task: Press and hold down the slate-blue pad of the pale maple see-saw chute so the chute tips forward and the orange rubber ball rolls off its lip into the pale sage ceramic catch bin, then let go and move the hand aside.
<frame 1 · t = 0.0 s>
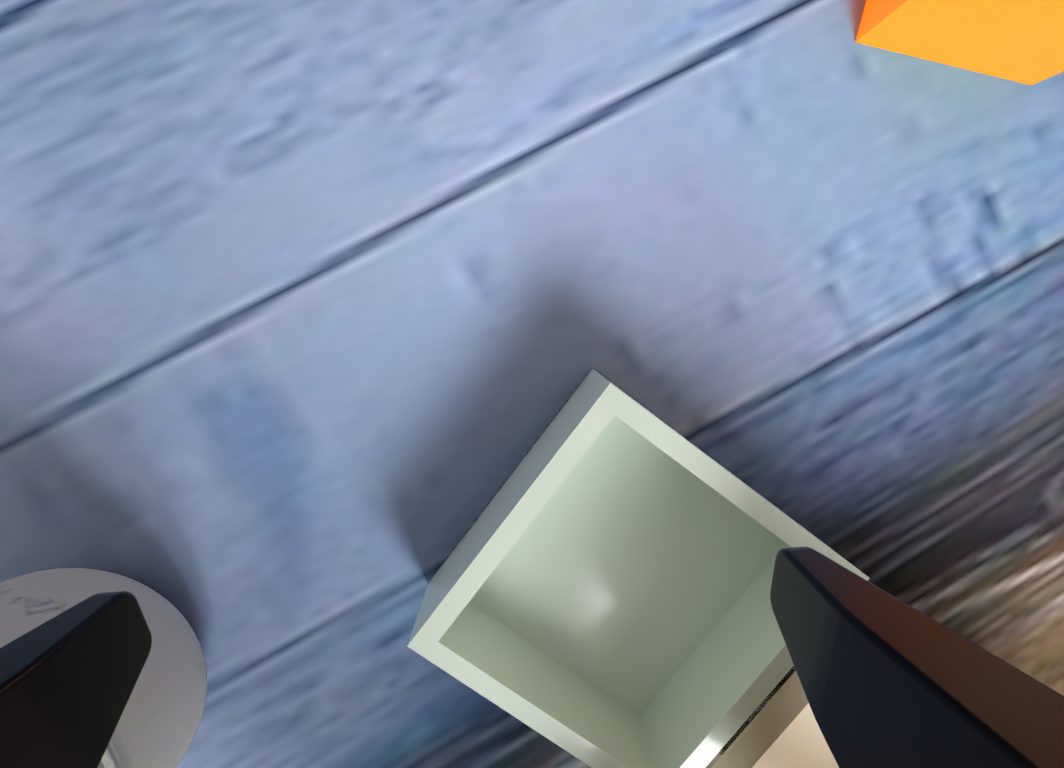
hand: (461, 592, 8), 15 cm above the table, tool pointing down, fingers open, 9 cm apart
catch bin: (616, 555, 24), on the table
teacup: (93, 659, 24), on the table
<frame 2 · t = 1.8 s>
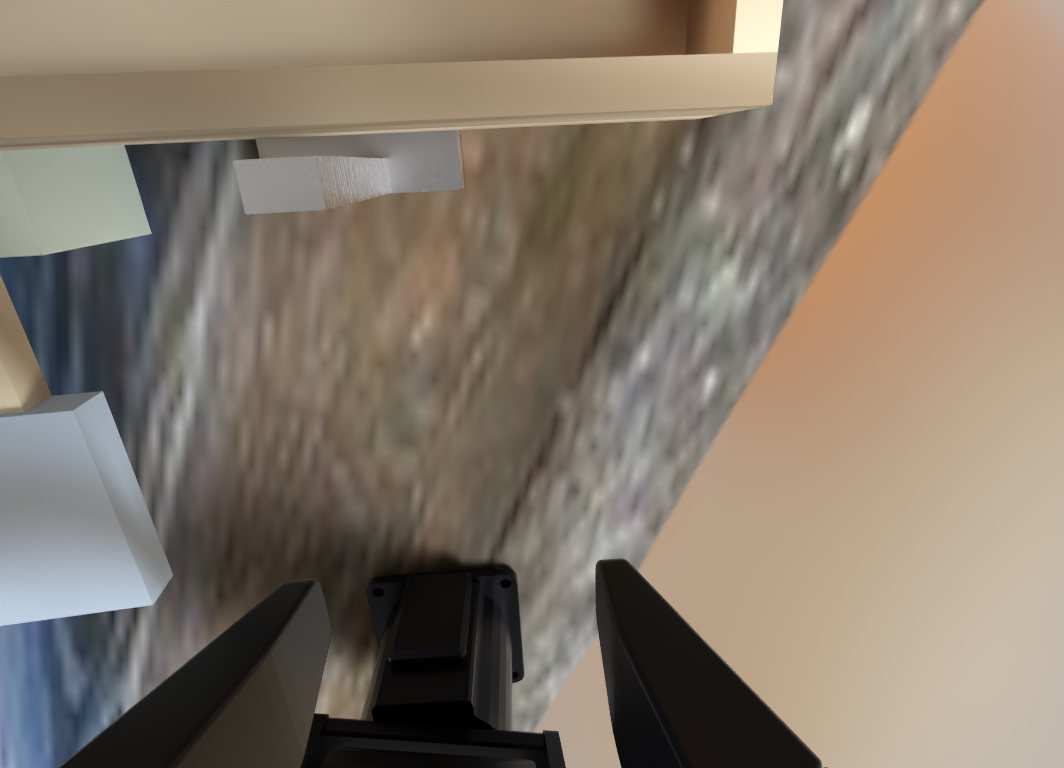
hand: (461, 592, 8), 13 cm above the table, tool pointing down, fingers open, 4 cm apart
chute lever: (272, 200, 12), point 7 cm above the table, hinge at 6.0°, touching ball
pivot stand: (345, 8, 16), on the table
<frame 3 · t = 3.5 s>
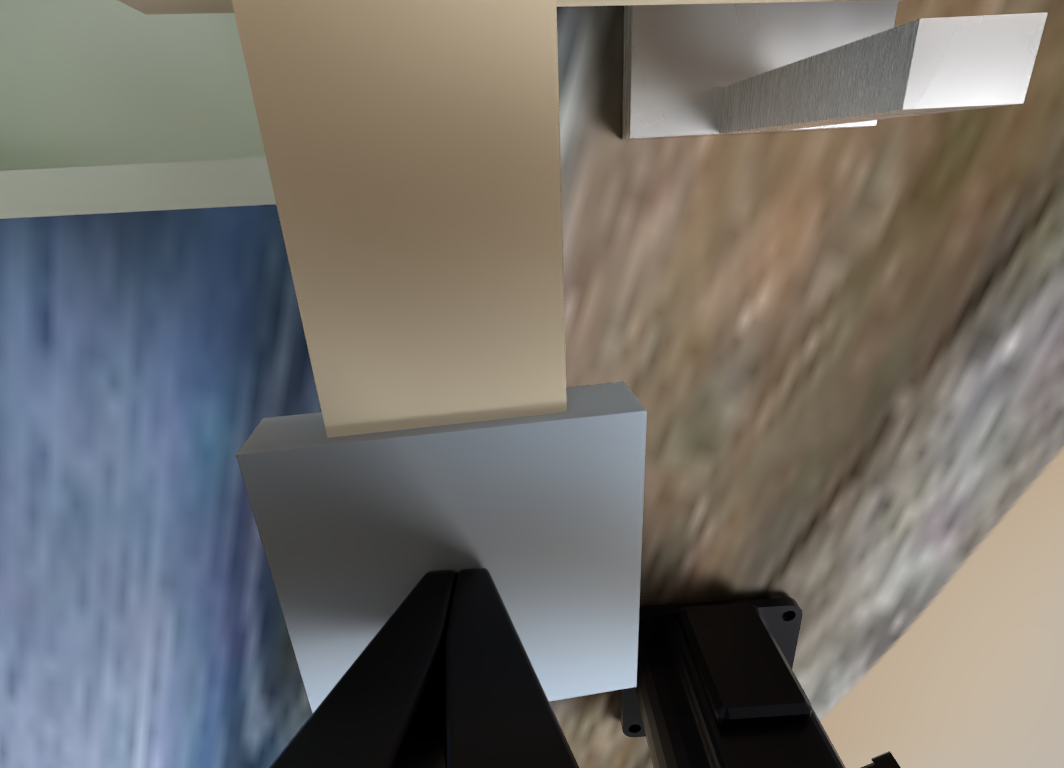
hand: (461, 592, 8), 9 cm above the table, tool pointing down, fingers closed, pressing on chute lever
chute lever: (875, 99, 8), point 7 cm above the table, hinge at 5.9°, touching ball, gripper
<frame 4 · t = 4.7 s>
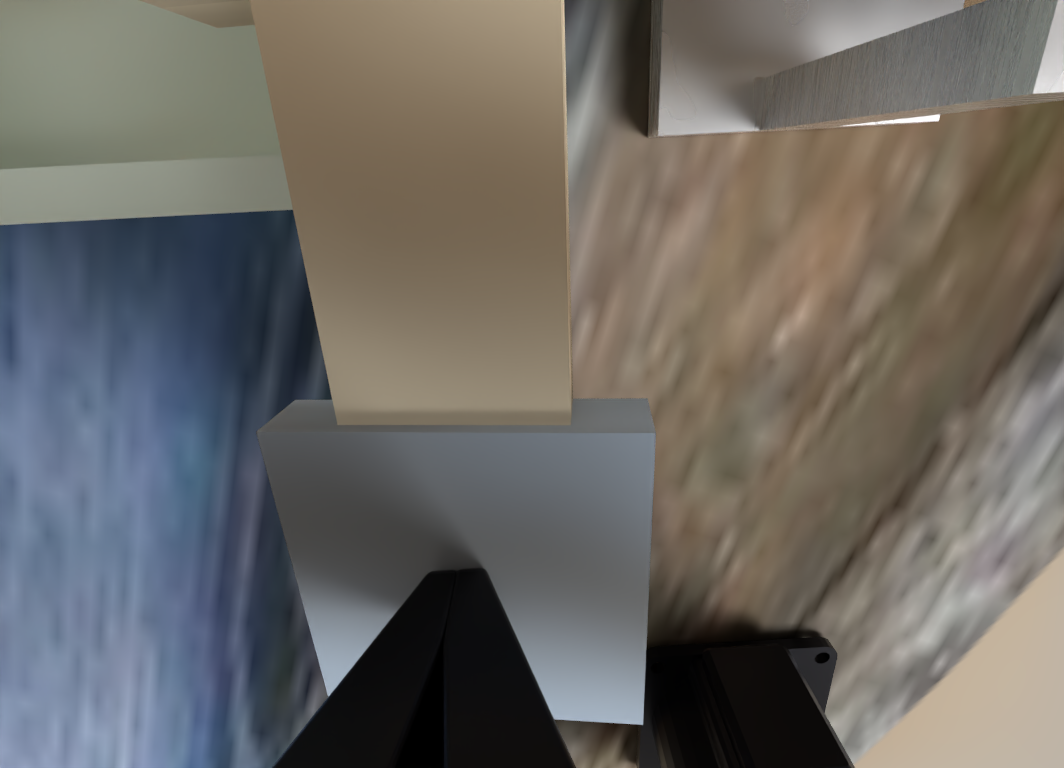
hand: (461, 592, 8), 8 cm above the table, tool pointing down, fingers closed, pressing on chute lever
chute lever: (994, 83, 6), point 6 cm above the table, hinge at -7.3°, touching gripper
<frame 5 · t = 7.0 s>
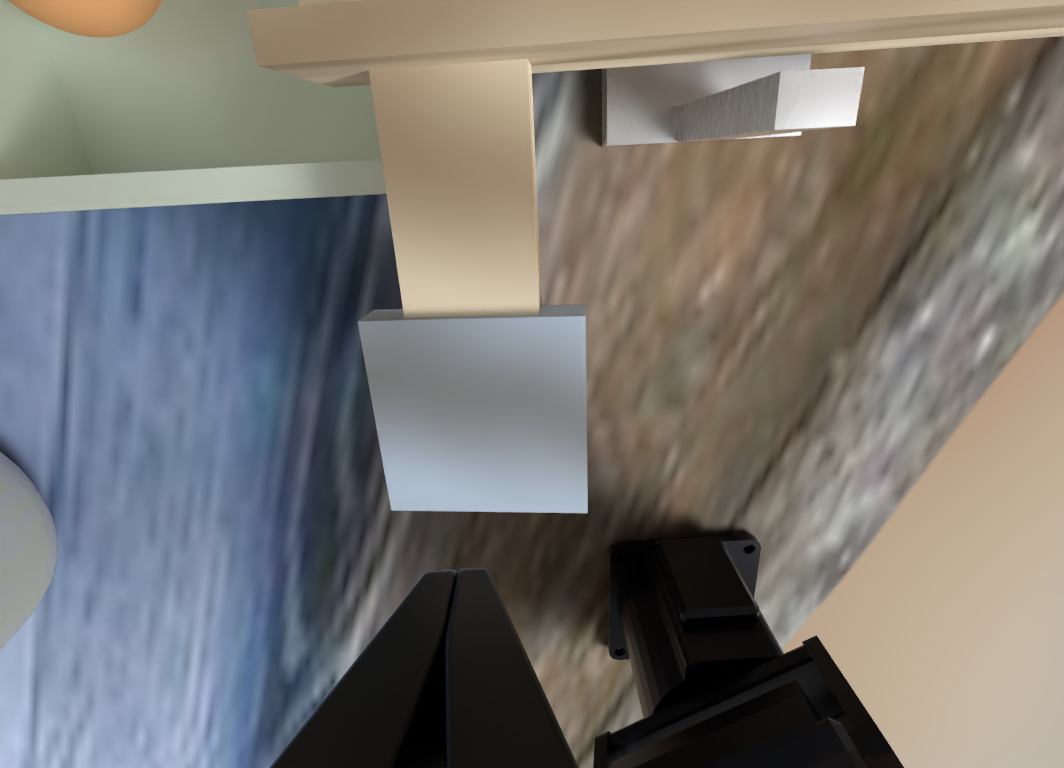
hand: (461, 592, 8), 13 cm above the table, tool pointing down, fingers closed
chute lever: (773, 121, 11), point 6 cm above the table, hinge at -7.3°
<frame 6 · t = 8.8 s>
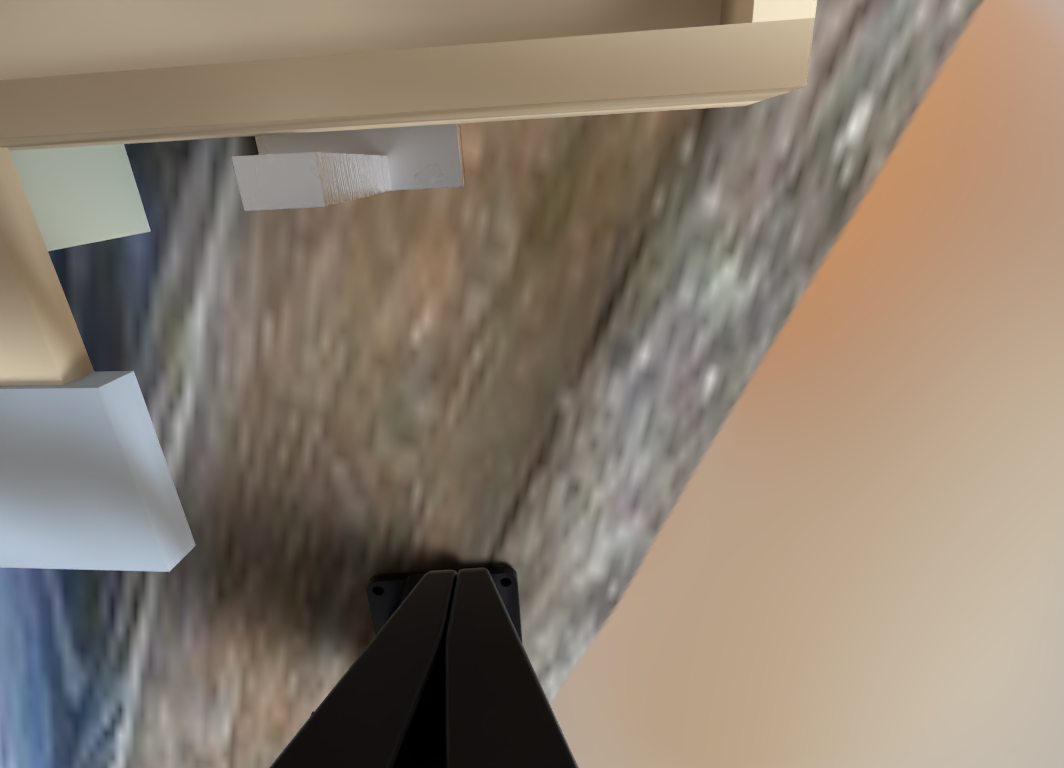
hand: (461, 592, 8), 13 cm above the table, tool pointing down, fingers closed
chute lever: (284, 196, 12), point 6 cm above the table, hinge at -7.3°
pivot stand: (344, 4, 16), on the table
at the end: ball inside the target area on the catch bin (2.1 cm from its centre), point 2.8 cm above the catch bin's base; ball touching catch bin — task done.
